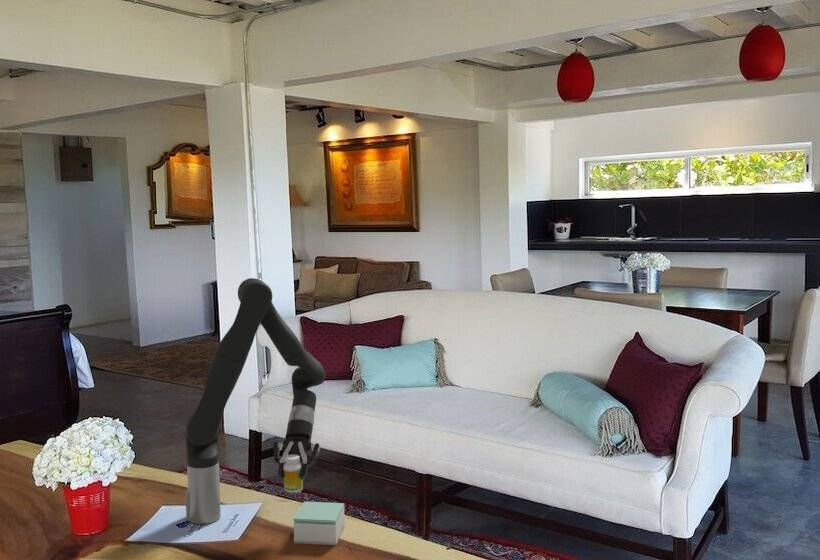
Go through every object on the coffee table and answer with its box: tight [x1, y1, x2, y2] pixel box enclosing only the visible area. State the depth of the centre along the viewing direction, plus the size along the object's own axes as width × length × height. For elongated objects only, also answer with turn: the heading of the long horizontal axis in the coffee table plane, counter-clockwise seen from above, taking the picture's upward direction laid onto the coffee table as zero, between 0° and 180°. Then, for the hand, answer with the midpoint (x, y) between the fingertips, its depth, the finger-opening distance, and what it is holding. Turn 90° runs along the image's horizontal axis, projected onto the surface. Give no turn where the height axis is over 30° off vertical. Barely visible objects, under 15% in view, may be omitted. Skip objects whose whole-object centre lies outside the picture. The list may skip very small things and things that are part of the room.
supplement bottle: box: [283, 455, 304, 494], centre depth 217 cm, size 5×5×10 cm
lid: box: [293, 501, 345, 523], centre depth 216 cm, size 12×12×1 cm
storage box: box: [293, 506, 345, 546], centre depth 217 cm, size 12×12×6 cm
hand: (291, 477), depth 215 cm, fingers closed on supplement bottle, 5 cm apart
